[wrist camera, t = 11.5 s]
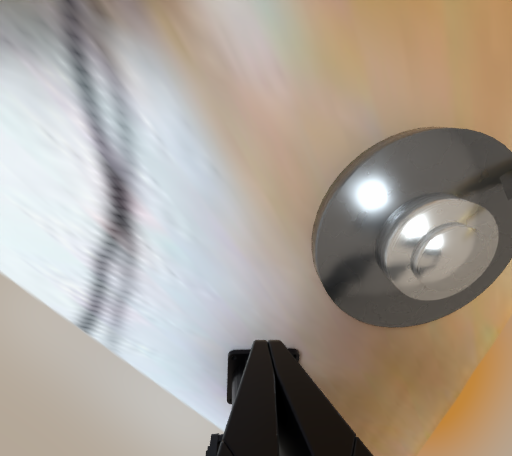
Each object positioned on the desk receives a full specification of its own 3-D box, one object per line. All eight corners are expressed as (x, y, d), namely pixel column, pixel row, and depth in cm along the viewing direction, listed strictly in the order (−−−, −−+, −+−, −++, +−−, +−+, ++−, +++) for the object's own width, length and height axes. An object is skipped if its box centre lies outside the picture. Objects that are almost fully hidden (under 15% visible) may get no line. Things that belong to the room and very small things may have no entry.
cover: (402, 299, 21) (425, 325, 19) (356, 236, 19) (377, 256, 16) (486, 245, 20) (524, 265, 18) (450, 170, 18) (487, 180, 15)
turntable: (370, 342, 25) (425, 432, 18) (270, 221, 20) (293, 281, 13) (556, 229, 22) (706, 283, 15) (498, 50, 17) (688, 8, 10)
